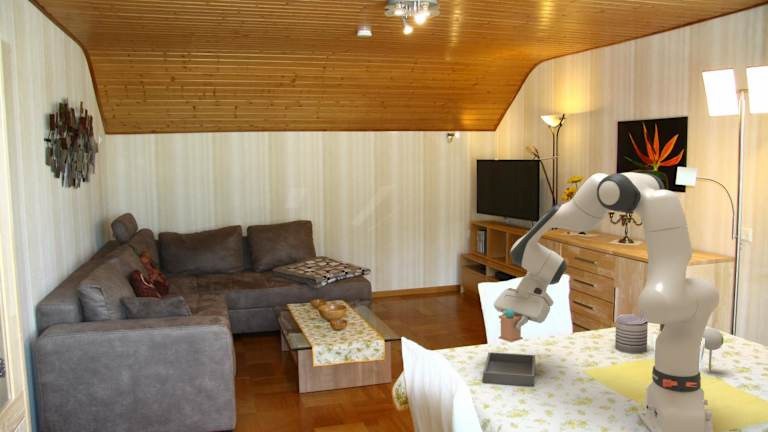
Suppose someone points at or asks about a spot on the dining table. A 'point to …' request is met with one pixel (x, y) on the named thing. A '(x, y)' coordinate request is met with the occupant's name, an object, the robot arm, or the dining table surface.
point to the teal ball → (509, 313)
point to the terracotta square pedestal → (510, 328)
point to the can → (631, 334)
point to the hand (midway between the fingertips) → (509, 326)
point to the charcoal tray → (509, 369)
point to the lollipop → (712, 341)
